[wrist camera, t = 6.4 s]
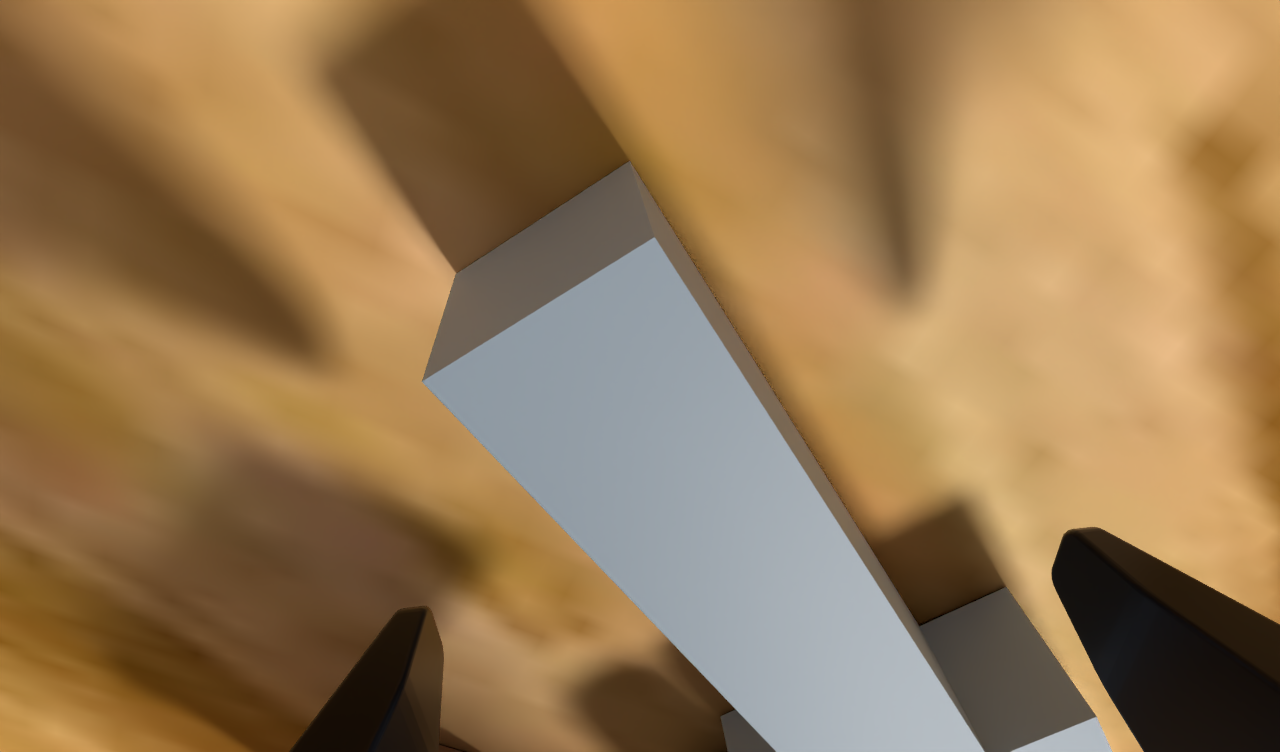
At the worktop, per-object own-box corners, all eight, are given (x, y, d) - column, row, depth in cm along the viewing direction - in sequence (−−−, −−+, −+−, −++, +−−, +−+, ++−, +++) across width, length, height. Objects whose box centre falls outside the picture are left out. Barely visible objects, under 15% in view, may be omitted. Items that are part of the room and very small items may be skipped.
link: (1079, 737, 19) (1162, 863, 16) (836, 834, 20) (877, 963, 17) (757, 76, 9) (832, 126, 7) (350, 342, 11) (285, 465, 8)
